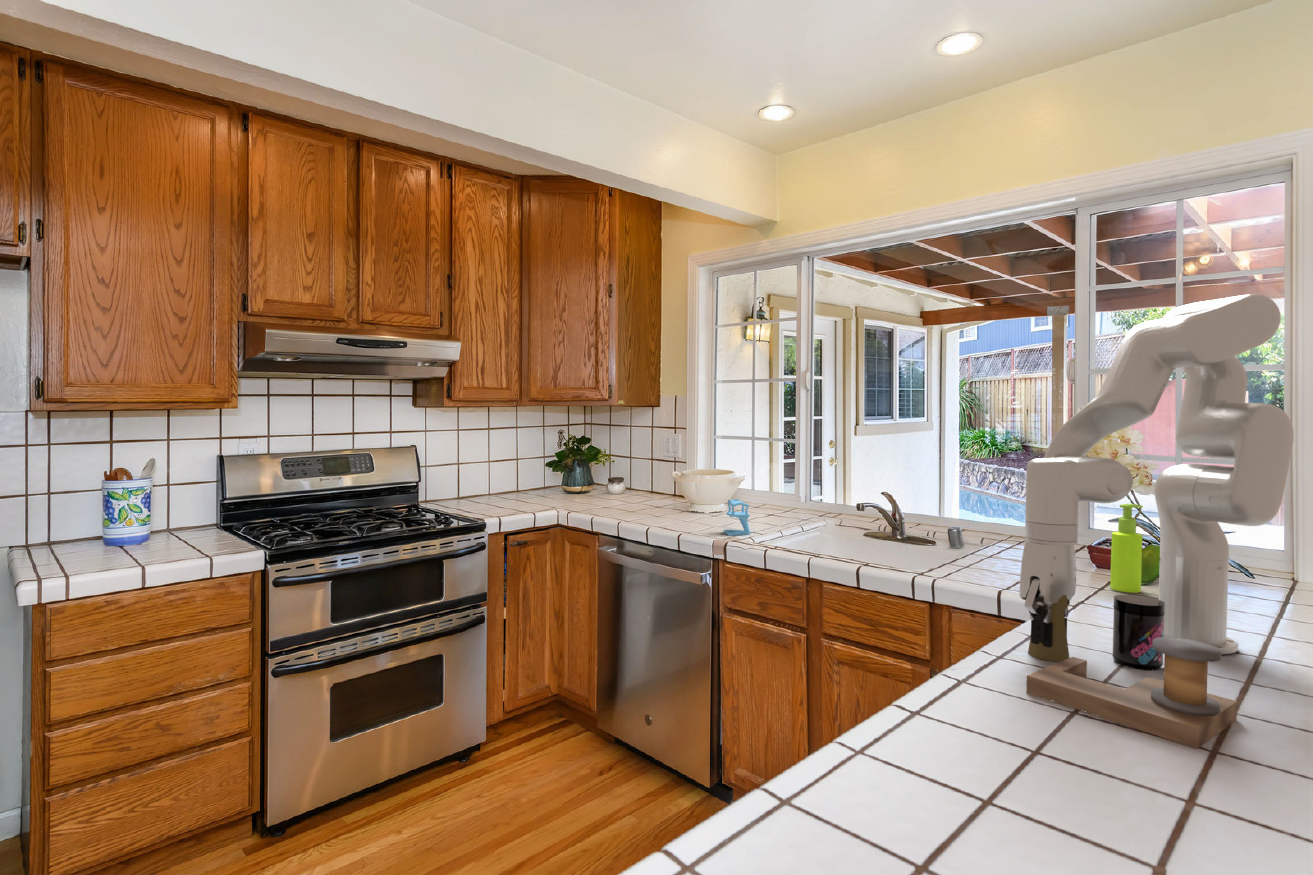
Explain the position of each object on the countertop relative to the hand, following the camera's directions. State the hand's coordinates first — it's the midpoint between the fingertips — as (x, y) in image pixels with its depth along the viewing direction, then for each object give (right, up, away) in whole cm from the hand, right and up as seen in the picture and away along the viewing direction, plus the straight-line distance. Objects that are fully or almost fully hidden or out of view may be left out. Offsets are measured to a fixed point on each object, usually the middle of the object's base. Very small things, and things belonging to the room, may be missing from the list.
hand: (1048, 641), depth 113 cm
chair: (-38, +1, +119) cm, 125 cm away
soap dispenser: (+45, -2, +46) cm, 64 cm away
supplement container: (+12, -3, -4) cm, 13 cm away
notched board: (-1, -3, -20) cm, 20 cm away
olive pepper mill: (0, -3, 0) cm, 2 cm away
